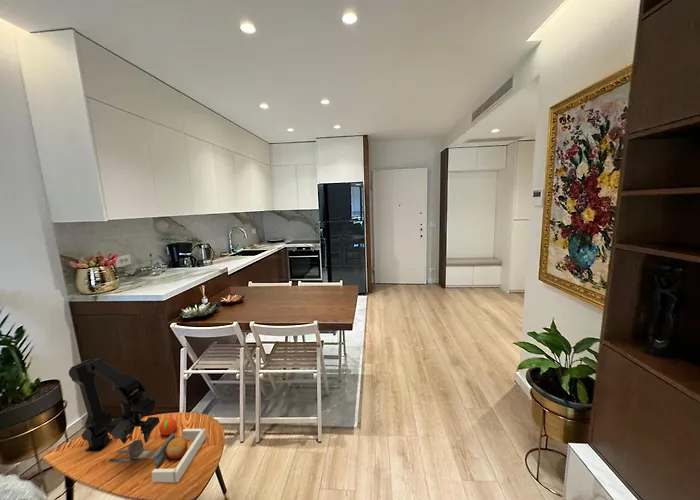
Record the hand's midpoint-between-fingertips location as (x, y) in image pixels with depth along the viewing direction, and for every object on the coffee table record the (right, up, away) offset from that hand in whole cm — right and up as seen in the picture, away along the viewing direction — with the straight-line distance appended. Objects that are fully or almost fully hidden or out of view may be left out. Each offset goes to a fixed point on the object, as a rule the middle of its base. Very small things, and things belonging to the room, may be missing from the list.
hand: (135, 442), depth 123 cm
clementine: (+5, -5, +13) cm, 15 cm away
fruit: (+17, -7, +2) cm, 18 cm away
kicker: (+5, -6, +1) cm, 8 cm away
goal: (+20, -6, 0) cm, 21 cm away
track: (-4, -7, +1) cm, 8 cm away
